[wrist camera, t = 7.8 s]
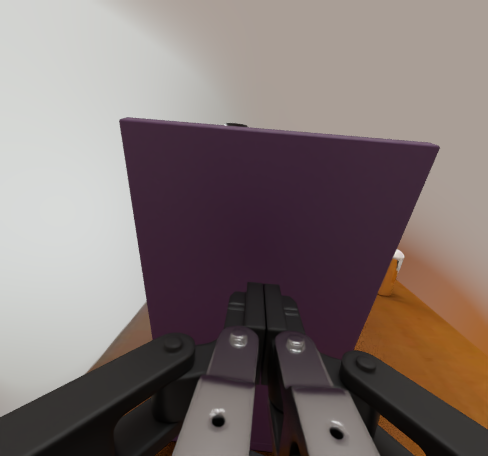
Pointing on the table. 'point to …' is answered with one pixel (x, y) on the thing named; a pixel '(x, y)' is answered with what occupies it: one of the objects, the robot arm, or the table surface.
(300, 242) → the lid
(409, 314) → the table surface
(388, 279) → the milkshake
